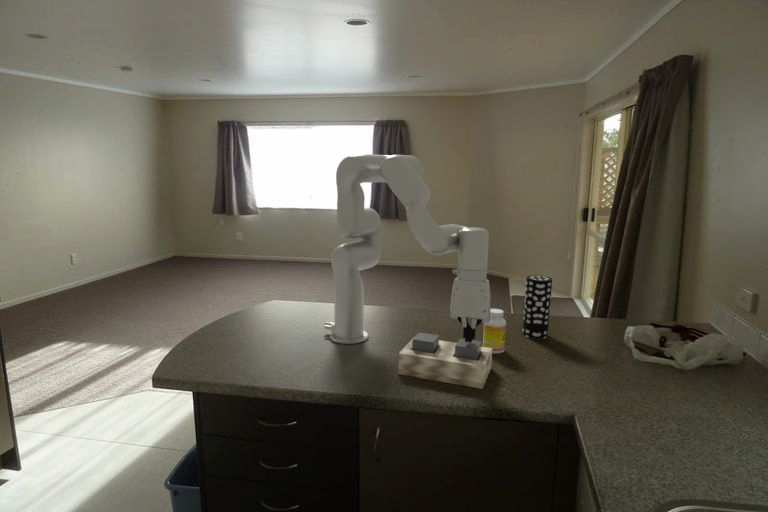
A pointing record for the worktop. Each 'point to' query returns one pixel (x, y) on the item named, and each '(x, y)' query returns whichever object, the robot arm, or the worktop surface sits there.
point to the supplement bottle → (495, 332)
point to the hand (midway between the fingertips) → (469, 340)
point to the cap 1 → (425, 343)
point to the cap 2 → (468, 349)
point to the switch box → (446, 365)
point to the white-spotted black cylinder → (537, 306)
